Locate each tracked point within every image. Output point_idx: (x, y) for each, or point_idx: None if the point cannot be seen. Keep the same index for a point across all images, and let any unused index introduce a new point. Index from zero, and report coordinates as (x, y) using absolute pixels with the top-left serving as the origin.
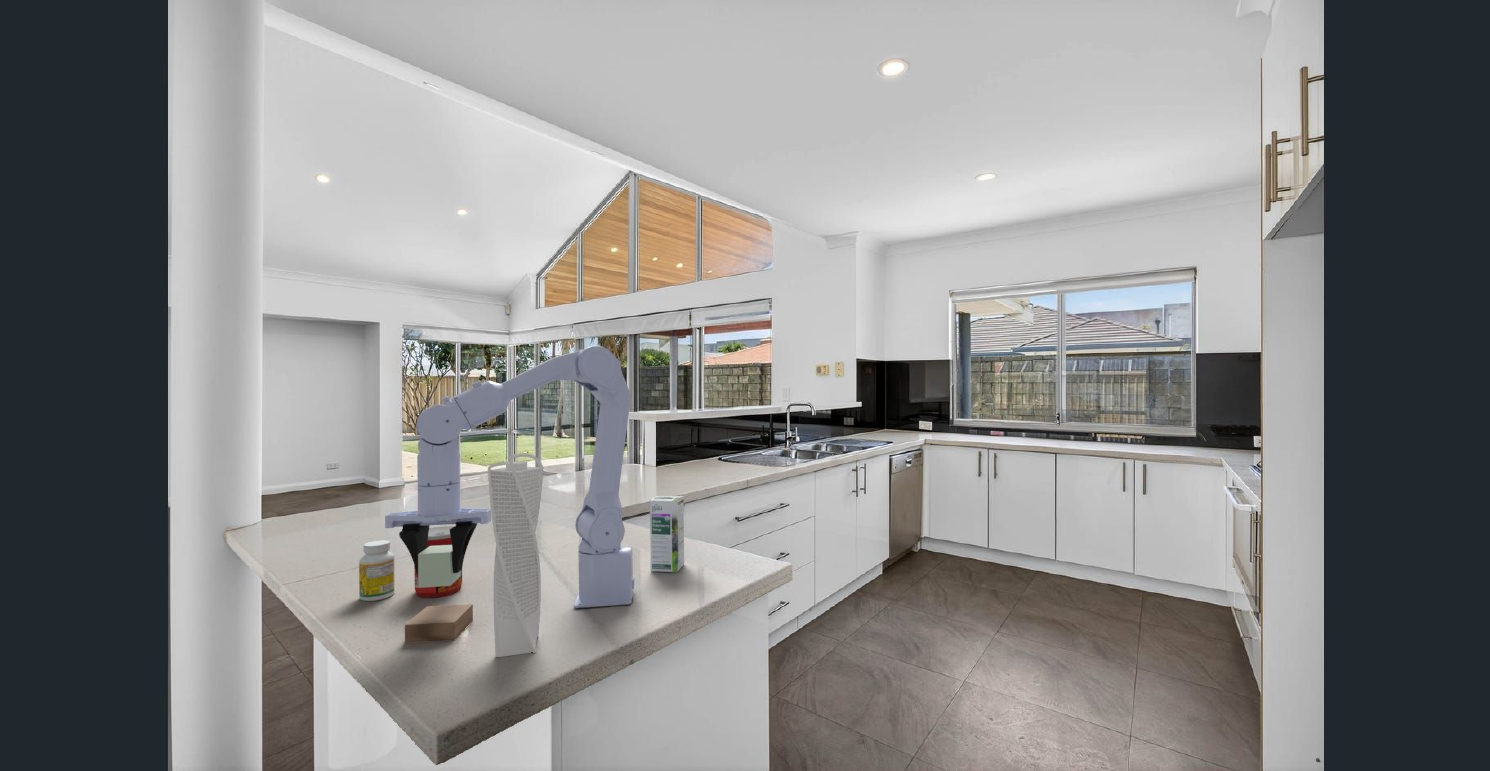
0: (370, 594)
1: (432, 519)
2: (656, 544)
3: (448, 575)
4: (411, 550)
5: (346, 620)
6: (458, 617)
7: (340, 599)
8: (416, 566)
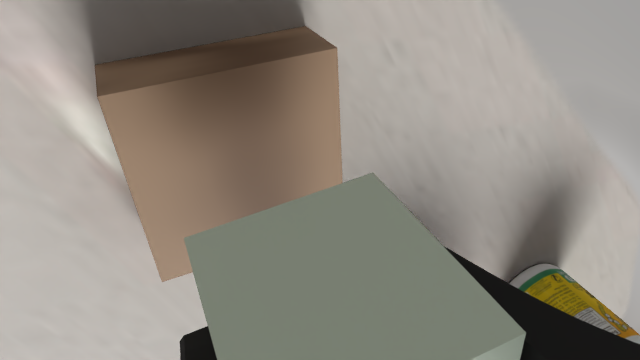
0: (545, 277)
1: None
2: None
3: (211, 281)
4: (600, 344)
5: (549, 162)
6: (122, 152)
7: (593, 256)
8: (468, 268)
